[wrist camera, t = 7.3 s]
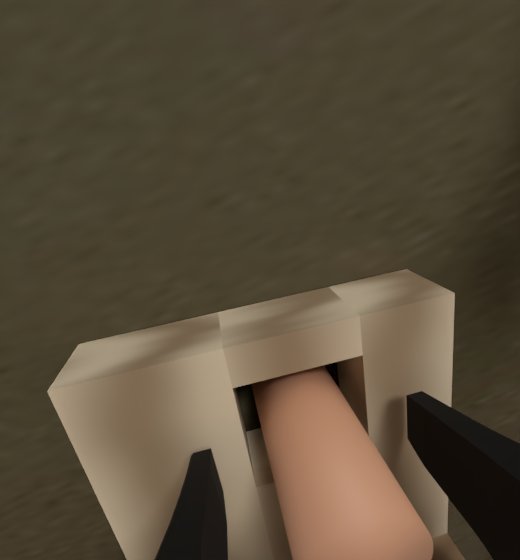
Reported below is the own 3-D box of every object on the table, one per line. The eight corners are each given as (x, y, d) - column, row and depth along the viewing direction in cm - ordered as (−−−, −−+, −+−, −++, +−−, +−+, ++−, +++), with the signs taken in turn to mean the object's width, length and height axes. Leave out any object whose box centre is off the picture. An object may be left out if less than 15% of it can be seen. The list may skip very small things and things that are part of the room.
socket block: (406, 269, 15) (561, 346, 9) (411, 494, 20) (512, 651, 13) (78, 344, 13) (-29, 504, 7) (170, 567, 18) (155, 783, 12)
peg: (320, 335, 15) (437, 500, 8) (324, 397, 16) (429, 593, 9) (245, 350, 15) (293, 539, 7) (255, 412, 16) (305, 630, 8)
